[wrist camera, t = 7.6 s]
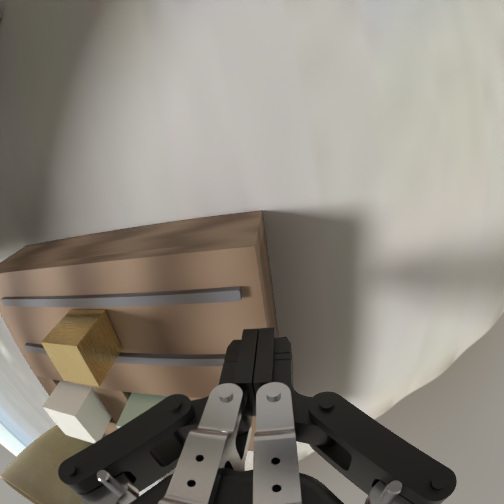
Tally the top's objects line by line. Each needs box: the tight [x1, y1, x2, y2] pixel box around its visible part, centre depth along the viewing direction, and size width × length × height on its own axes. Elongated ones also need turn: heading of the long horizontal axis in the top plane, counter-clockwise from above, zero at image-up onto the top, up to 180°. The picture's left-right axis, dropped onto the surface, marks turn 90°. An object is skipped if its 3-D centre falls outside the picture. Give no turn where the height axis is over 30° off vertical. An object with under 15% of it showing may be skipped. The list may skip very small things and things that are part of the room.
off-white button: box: [43, 381, 112, 443], centre depth 21 cm, size 4×4×5 cm
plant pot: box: [0, 425, 94, 504], centre depth 29 cm, size 15×15×16 cm
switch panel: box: [0, 211, 279, 451], centre depth 21 cm, size 22×18×6 cm
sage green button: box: [116, 393, 168, 428], centre depth 20 cm, size 4×4×5 cm
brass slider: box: [41, 310, 122, 387], centre depth 15 cm, size 3×3×4 cm
